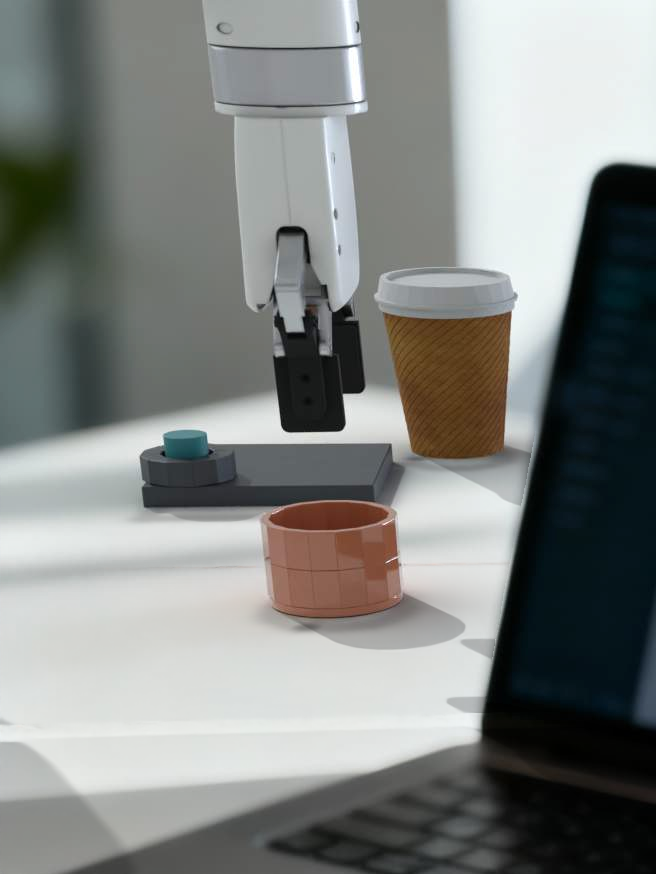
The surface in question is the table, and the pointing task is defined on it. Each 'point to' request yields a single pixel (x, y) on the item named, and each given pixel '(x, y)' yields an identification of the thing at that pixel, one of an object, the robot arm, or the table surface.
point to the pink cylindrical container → (332, 558)
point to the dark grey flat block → (265, 474)
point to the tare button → (186, 444)
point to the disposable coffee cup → (450, 356)
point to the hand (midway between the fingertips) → (325, 411)
